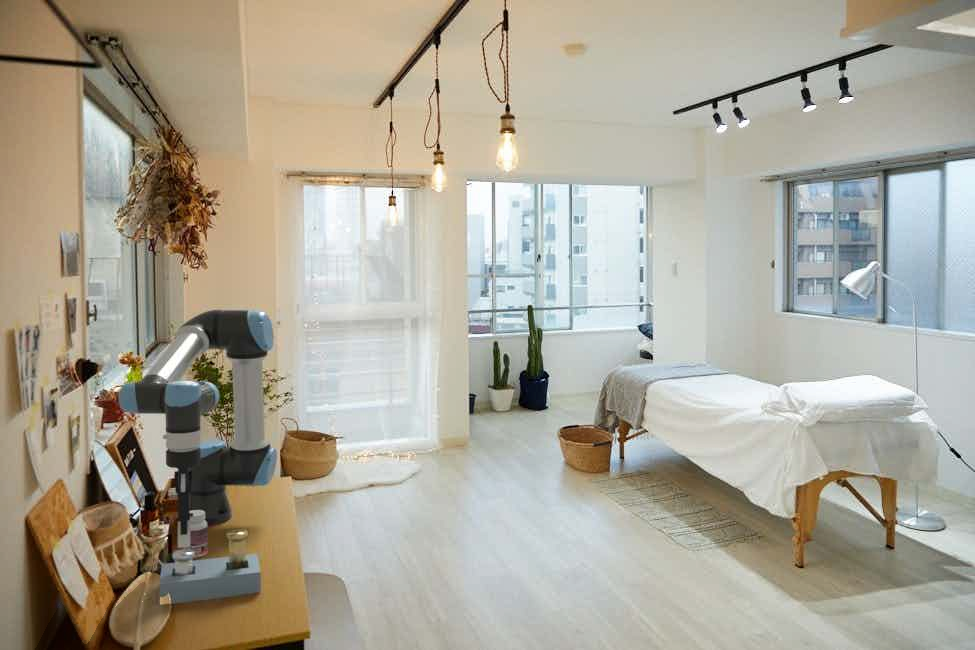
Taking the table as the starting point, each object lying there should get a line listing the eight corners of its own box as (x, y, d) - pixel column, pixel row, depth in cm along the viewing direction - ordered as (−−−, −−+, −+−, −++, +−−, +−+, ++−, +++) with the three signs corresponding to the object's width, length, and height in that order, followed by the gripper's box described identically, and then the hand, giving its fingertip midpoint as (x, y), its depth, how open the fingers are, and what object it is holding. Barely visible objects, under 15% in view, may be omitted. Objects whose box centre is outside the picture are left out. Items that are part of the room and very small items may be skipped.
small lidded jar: (173, 584, 174) (173, 550, 173) (194, 582, 176) (194, 547, 175) (172, 593, 169) (172, 557, 169) (194, 590, 171) (194, 555, 171)
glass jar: (226, 564, 178) (226, 530, 177) (247, 562, 180) (247, 528, 179) (227, 572, 174) (227, 537, 173) (248, 569, 175) (248, 535, 175)
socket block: (162, 584, 176) (161, 564, 176) (257, 572, 184) (257, 553, 184) (159, 605, 165) (159, 584, 165) (260, 592, 173) (260, 572, 173)
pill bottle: (212, 551, 198) (212, 510, 197) (198, 559, 192) (198, 517, 191) (192, 548, 199) (192, 508, 198) (177, 557, 193) (177, 515, 192)
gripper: (167, 442, 175) (168, 538, 177) (164, 456, 163) (165, 558, 165) (200, 440, 178) (201, 534, 180) (200, 453, 166) (201, 554, 167)
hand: (184, 545), depth 172 cm, fingers closed
